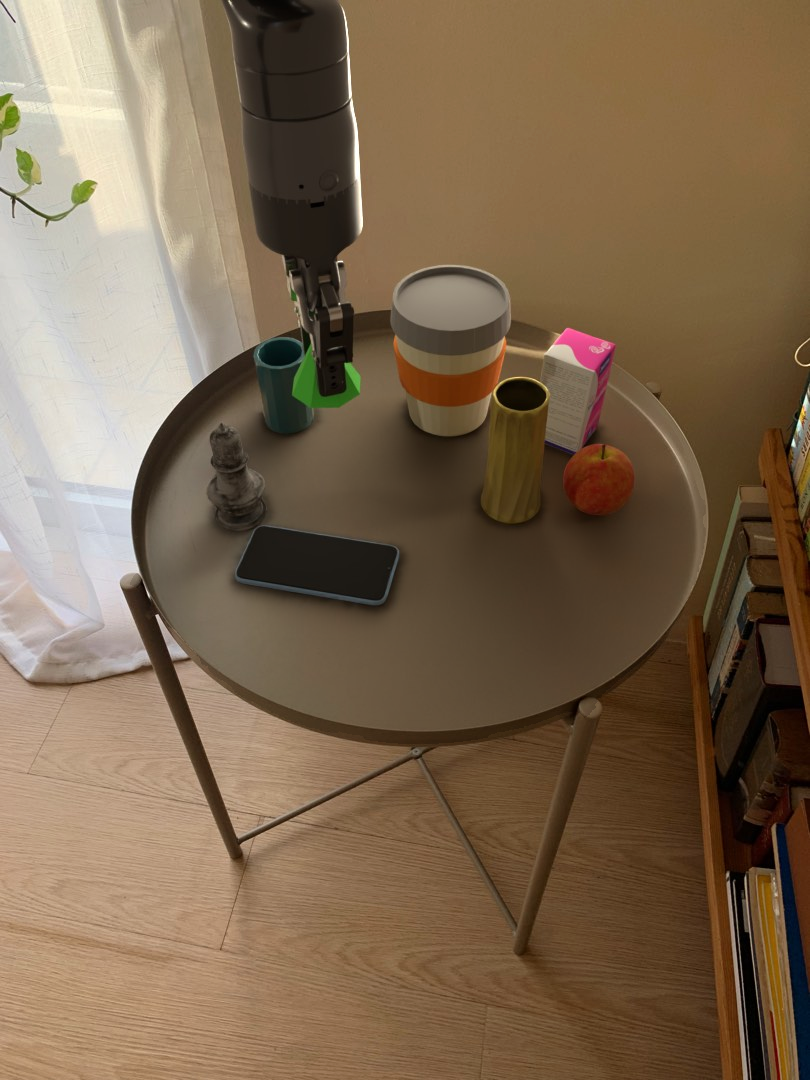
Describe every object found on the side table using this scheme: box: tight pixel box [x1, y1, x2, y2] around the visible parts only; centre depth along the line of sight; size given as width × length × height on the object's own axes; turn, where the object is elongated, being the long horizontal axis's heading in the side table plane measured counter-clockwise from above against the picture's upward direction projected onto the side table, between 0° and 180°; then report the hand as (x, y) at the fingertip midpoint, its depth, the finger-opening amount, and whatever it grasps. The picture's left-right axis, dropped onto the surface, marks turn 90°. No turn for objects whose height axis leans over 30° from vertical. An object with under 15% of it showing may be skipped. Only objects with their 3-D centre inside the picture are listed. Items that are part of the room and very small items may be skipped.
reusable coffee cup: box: [390, 264, 512, 437], centre depth 96 cm, size 13×13×15 cm
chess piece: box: [205, 422, 268, 532], centre depth 87 cm, size 6×6×12 cm
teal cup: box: [252, 336, 315, 435], centre depth 98 cm, size 6×6×9 cm
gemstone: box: [292, 344, 362, 409], centre depth 71 cm, size 6×6×6 cm
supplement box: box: [539, 327, 617, 456], centre depth 94 cm, size 6×6×12 cm
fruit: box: [562, 443, 635, 516], centre depth 88 cm, size 7×7×8 cm
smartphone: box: [234, 525, 400, 606], centre depth 86 cm, size 7×1×15 cm
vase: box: [480, 376, 550, 524], centre depth 86 cm, size 6×6×14 cm
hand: (324, 372), depth 72 cm, fingers closed on gemstone, 4 cm apart
